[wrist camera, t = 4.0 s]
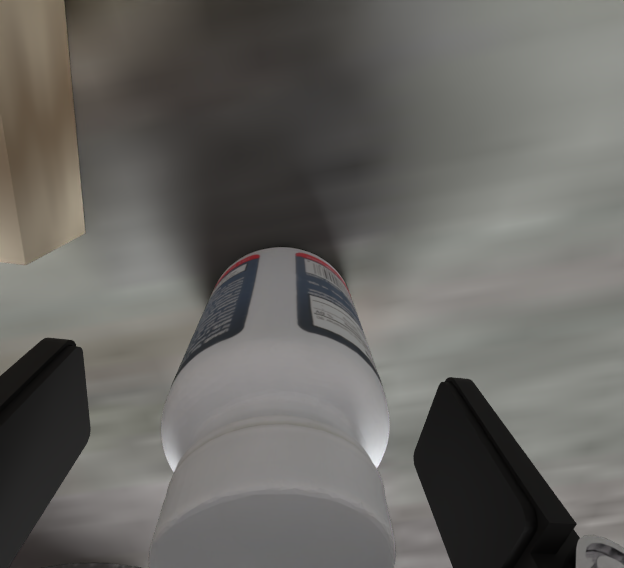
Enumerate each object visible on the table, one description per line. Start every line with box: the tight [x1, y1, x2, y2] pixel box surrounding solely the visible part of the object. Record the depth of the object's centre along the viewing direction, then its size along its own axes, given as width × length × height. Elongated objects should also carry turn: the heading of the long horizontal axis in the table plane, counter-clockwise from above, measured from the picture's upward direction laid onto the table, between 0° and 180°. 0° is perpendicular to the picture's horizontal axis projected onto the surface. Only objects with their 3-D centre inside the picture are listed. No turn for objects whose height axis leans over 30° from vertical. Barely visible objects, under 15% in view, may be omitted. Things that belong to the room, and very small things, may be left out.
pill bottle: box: [149, 247, 396, 568], centre depth 10 cm, size 5×5×9 cm
